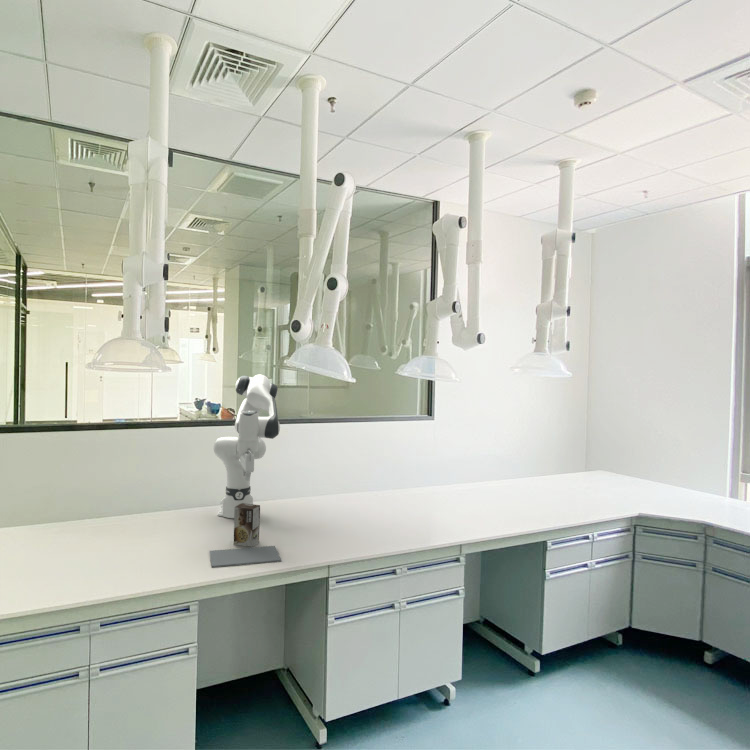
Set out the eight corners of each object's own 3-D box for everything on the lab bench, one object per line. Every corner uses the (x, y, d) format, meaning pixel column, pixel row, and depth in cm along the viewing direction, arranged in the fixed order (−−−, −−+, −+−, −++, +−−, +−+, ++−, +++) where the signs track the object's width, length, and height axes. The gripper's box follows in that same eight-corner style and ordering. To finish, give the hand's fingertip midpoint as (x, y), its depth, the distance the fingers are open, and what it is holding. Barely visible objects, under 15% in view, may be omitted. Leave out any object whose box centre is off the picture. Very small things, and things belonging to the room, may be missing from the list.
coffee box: (259, 542, 221) (261, 505, 220) (252, 547, 214) (253, 508, 214) (240, 539, 223) (242, 502, 223) (232, 544, 217) (234, 506, 216)
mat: (209, 552, 207) (209, 550, 207) (274, 547, 216) (274, 545, 216) (211, 567, 192) (211, 565, 192) (281, 561, 201) (281, 559, 201)
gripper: (258, 451, 219) (256, 483, 219) (252, 443, 238) (250, 473, 238) (243, 451, 217) (241, 484, 217) (238, 443, 236) (236, 473, 236)
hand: (246, 478), depth 228 cm, fingers open, 8 cm apart
